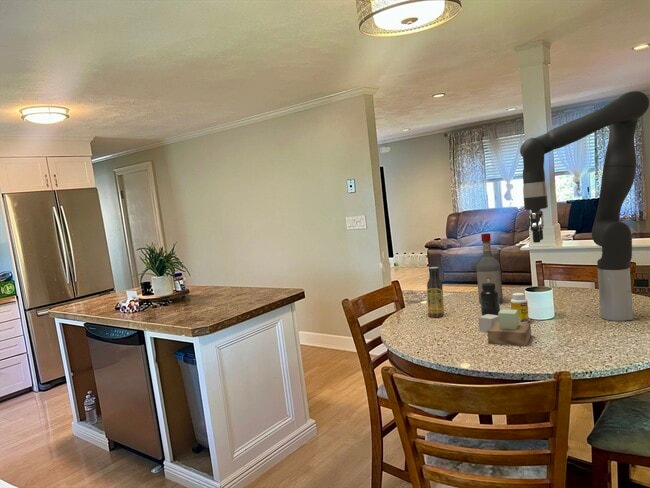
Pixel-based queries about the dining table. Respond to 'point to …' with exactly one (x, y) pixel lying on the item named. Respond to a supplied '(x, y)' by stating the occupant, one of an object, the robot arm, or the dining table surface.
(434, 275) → the sauce bottle
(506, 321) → the sage cube
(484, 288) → the supplement bottle
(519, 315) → the supplement bottle
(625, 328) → the dining table surface
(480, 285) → the liquor
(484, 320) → the grey cube
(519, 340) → the walnut block
